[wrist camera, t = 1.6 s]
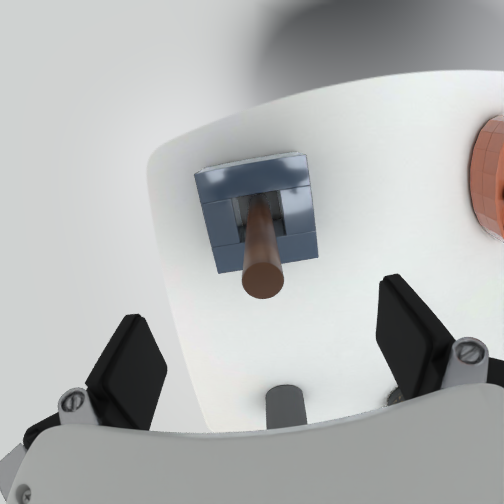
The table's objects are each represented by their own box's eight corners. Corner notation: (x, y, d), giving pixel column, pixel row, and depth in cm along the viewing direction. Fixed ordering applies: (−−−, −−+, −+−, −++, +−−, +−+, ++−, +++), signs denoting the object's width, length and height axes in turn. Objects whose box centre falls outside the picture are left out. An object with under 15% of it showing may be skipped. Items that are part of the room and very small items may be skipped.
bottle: (262, 405, 41) (264, 485, 27) (269, 383, 38) (272, 472, 25) (297, 406, 41) (307, 484, 27) (306, 385, 39) (320, 470, 25)
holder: (204, 167, 27) (193, 174, 22) (297, 151, 26) (306, 154, 21) (223, 252, 30) (218, 274, 26) (309, 238, 29) (318, 257, 25)
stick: (247, 195, 28) (237, 266, 13) (266, 192, 28) (280, 259, 13) (250, 214, 28) (246, 302, 14) (270, 211, 28) (286, 296, 14)
